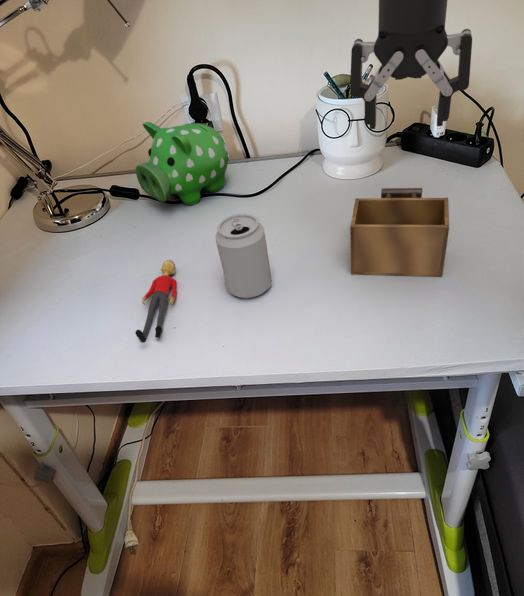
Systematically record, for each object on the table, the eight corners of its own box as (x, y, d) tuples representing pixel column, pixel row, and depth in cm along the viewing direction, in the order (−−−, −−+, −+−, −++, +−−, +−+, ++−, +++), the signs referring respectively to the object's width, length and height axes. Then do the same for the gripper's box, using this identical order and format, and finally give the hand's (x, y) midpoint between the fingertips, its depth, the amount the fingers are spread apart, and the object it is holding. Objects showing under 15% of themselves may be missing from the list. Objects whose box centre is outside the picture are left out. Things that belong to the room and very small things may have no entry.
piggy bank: (140, 201, 109) (116, 132, 98) (206, 167, 116) (191, 98, 105) (178, 223, 100) (156, 150, 90) (246, 184, 107) (234, 112, 97)
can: (233, 306, 80) (218, 243, 72) (223, 279, 86) (208, 217, 77) (278, 293, 81) (268, 229, 73) (265, 267, 86) (255, 205, 78)
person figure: (130, 321, 75) (155, 249, 87) (130, 340, 77) (155, 267, 90) (164, 327, 75) (185, 254, 87) (163, 345, 78) (183, 272, 90)
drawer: (442, 277, 78) (441, 230, 87) (449, 227, 72) (447, 181, 80) (350, 274, 82) (358, 229, 90) (350, 226, 76) (358, 183, 84)
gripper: (344, -6, 55) (348, 140, 67) (485, -23, 52) (463, 135, 63) (352, -23, 60) (354, 116, 72) (481, -39, 56) (462, 110, 68)
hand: (405, 125), depth 67 cm, fingers open, 8 cm apart
